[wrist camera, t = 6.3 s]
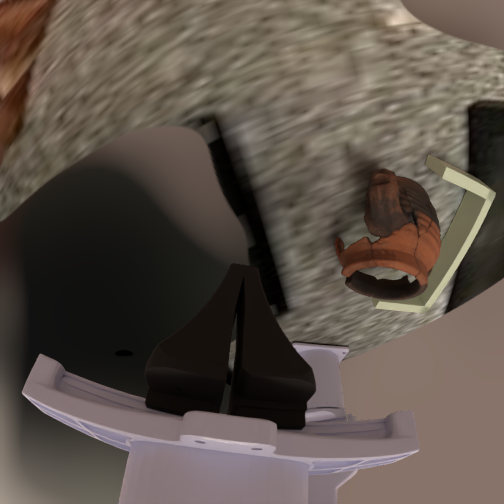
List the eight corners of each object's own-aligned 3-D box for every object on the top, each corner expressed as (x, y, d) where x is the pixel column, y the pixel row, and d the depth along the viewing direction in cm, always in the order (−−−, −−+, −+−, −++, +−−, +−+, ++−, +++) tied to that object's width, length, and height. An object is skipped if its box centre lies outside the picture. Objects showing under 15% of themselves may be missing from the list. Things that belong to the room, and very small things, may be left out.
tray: (417, 294, 28) (425, 313, 25) (367, 287, 27) (374, 308, 25) (478, 178, 19) (496, 193, 16) (428, 154, 18) (446, 166, 16)
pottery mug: (439, 228, 23) (440, 305, 20) (357, 232, 29) (345, 303, 26) (425, 130, 15) (440, 223, 12) (311, 150, 21) (289, 233, 18)
